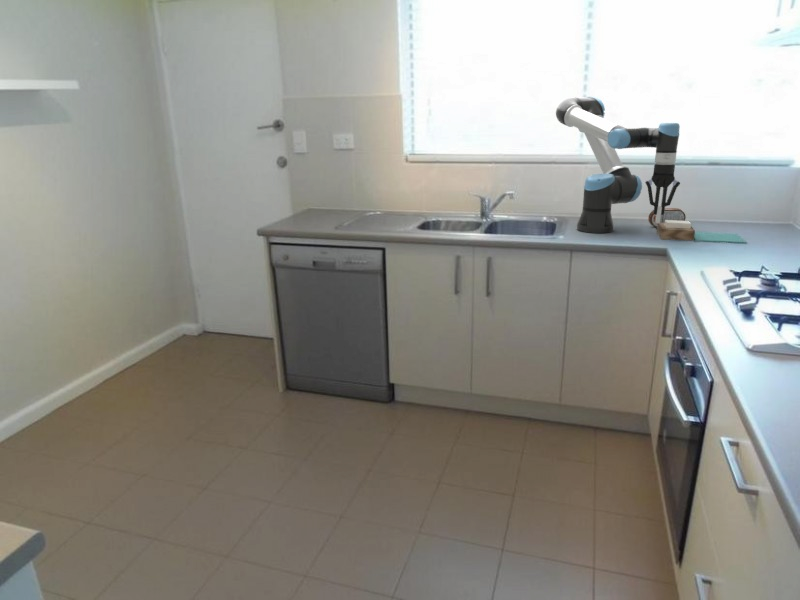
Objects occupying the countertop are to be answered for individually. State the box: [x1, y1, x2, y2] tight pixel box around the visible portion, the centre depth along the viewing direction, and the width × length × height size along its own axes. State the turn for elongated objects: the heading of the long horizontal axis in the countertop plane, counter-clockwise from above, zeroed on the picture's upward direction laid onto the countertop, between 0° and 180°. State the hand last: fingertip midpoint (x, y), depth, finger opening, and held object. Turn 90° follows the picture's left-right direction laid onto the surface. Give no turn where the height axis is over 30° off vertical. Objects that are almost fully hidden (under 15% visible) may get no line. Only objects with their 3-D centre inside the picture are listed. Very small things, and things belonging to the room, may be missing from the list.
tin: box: [648, 207, 687, 228], centre depth 251 cm, size 15×3×8 cm, turn 84°
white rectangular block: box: [664, 220, 692, 229], centre depth 233 cm, size 9×6×2 cm, turn 73°
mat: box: [694, 231, 748, 244], centre depth 230 cm, size 18×16×1 cm
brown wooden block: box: [656, 223, 696, 241], centre depth 234 cm, size 12×14×4 cm
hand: (657, 222), depth 235 cm, fingers closed
